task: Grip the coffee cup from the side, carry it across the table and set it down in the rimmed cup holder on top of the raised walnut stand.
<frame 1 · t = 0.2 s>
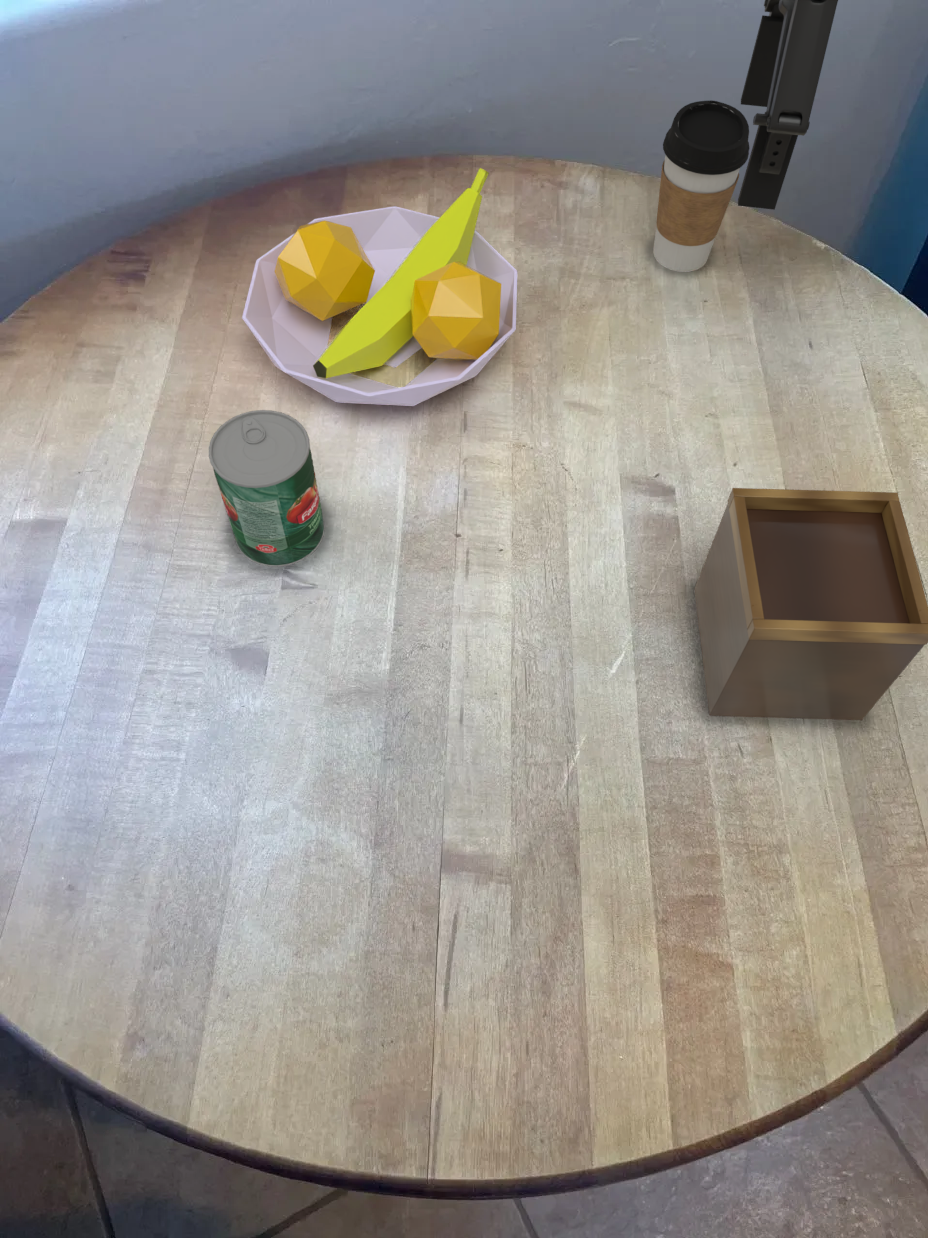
hand: (756, 152, 75), 24 cm above the table, tool pointing down, fingers open, 13 cm apart
fruit bowl: (395, 337, 98), on the table
coffee cup: (679, 257, 105), on the table
canned tomato: (280, 532, 85), on the table
holder: (822, 569, 69), on the table
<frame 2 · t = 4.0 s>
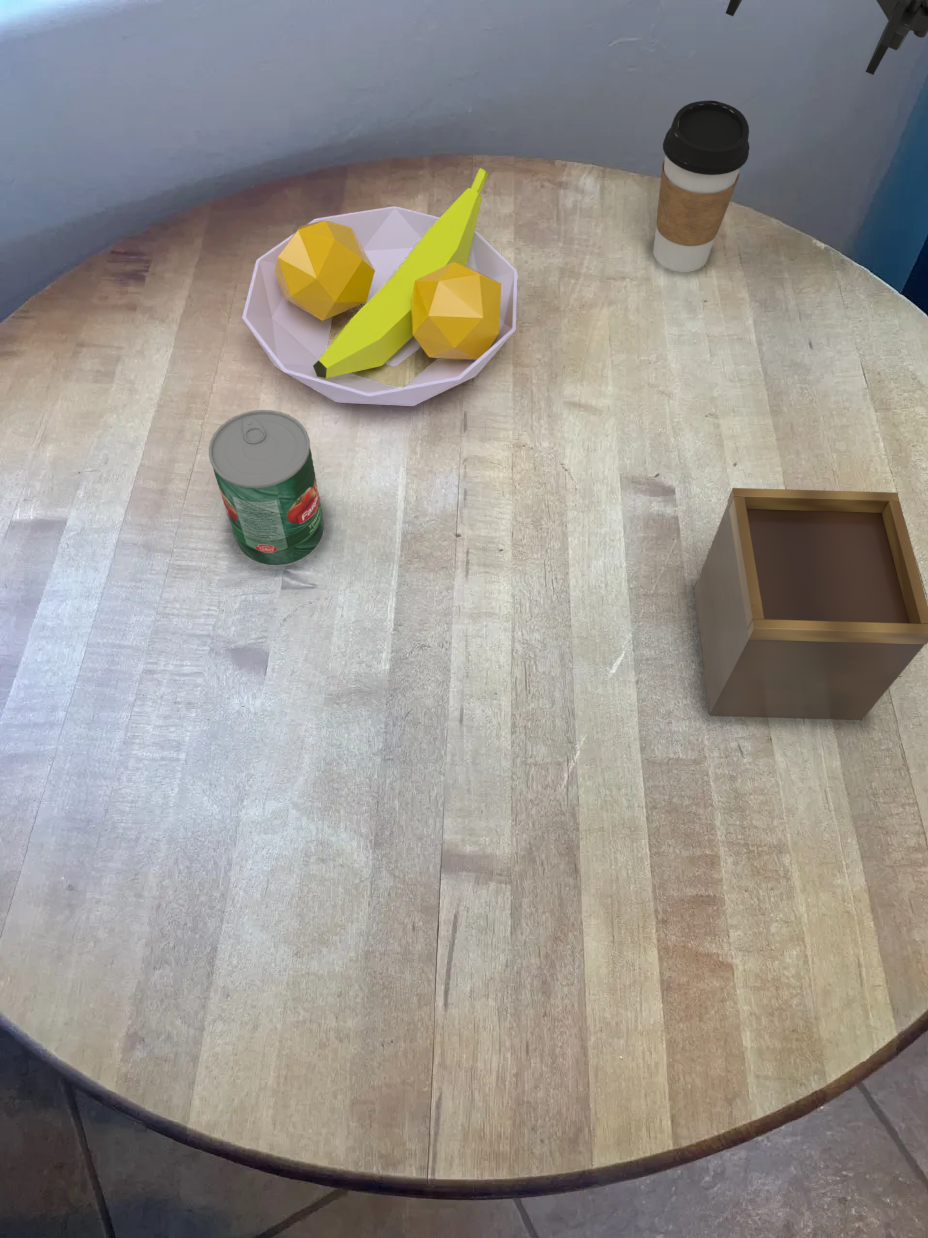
hand: (805, 29, 85), 24 cm above the table, tool horizontal, fingers open, 13 cm apart
nothing on the table moved.
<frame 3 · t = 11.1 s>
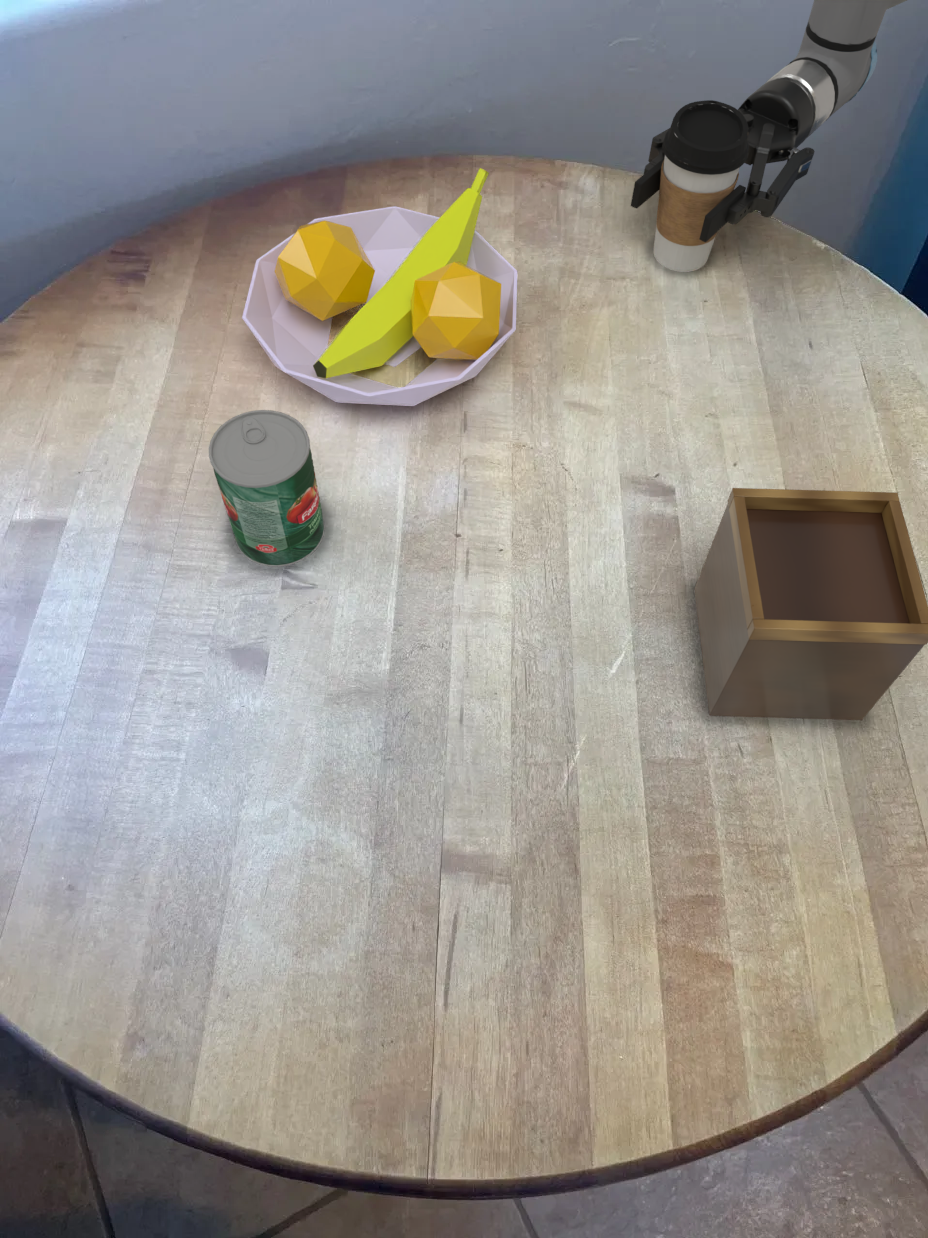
hand: (670, 211, 96), 8 cm above the table, tool horizontal, fingers closed on coffee cup, 8 cm apart
coffee cup: (679, 257, 105), on the table, touching gripper
everything else where it was.
when the fingers open (20 cm above the table, at t = 23.6 s): coffee cup stays where it is, resting on holder.
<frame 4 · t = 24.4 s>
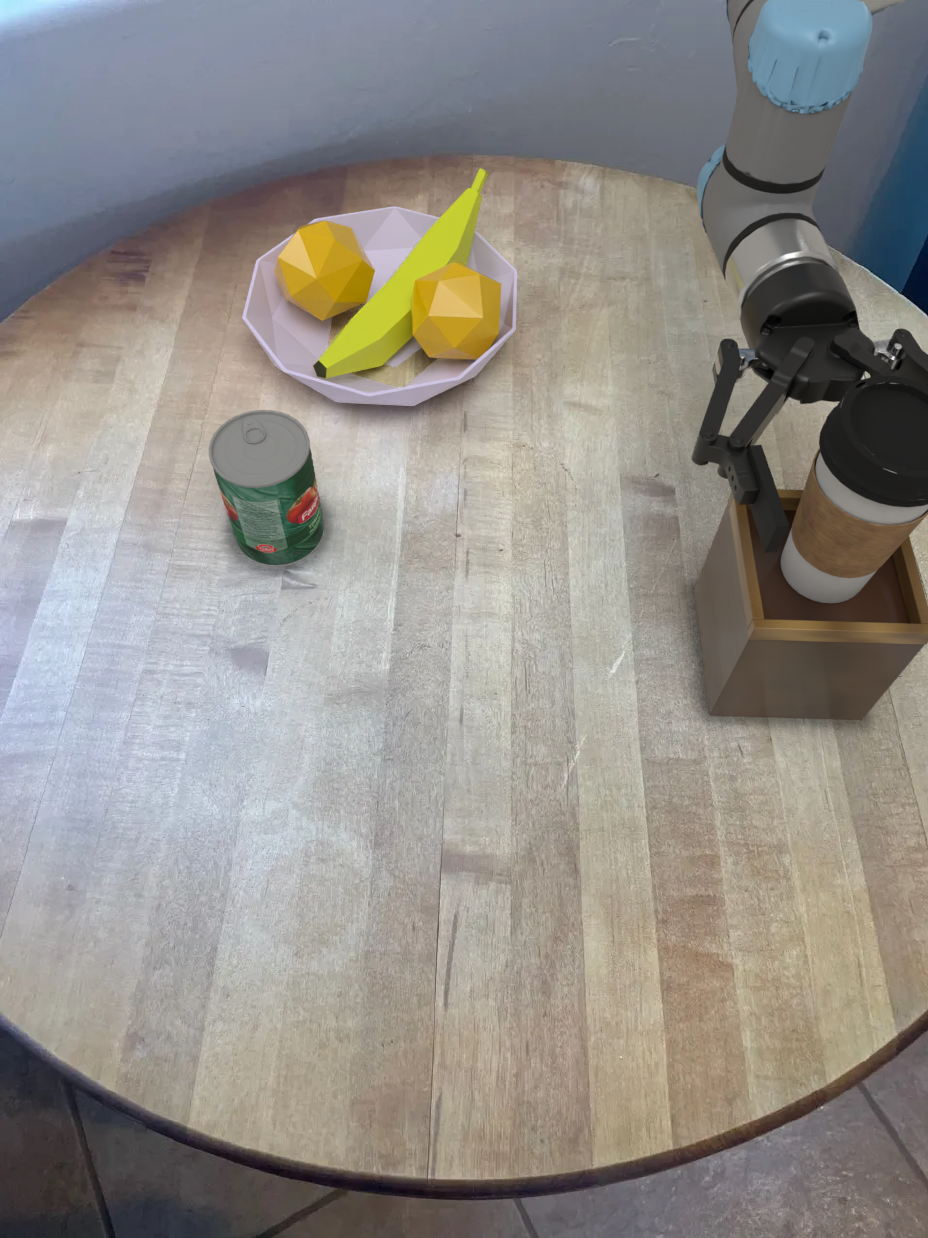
hand: (884, 532, 59), 21 cm above the table, tool horizontal, fingers open, 13 cm apart
coffee cup: (821, 570, 69), point 12 cm above the table, touching holder
everything else where it was.
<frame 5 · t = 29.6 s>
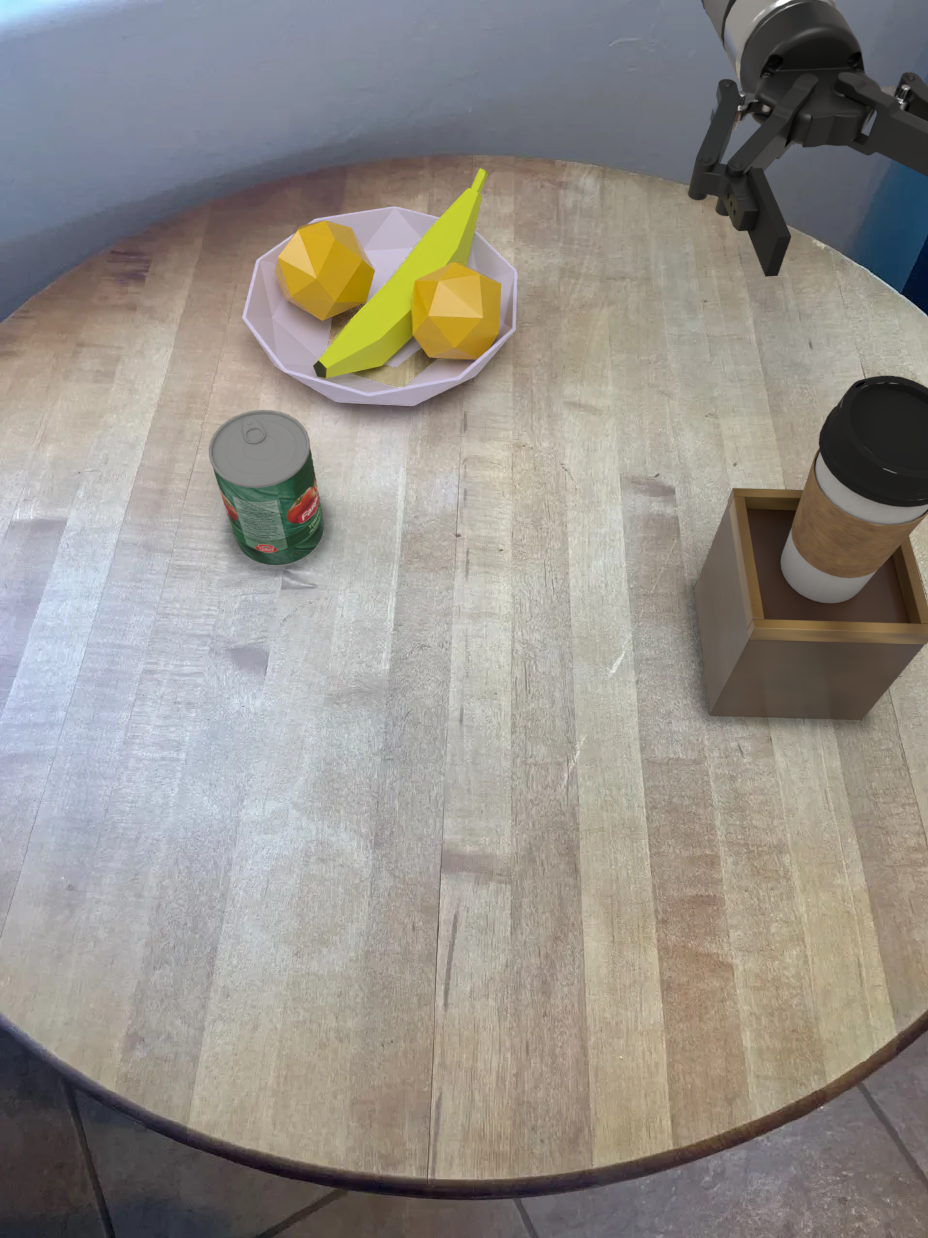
hand: (891, 251, 56), 32 cm above the table, tool horizontal, fingers open, 13 cm apart
nothing on the table moved.
at the end: coffee cup 0.0 cm off-centre on the holder, point 0.0 cm above the holder's base; coffee cup tilted 0°; the gripper is holding nothing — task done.
